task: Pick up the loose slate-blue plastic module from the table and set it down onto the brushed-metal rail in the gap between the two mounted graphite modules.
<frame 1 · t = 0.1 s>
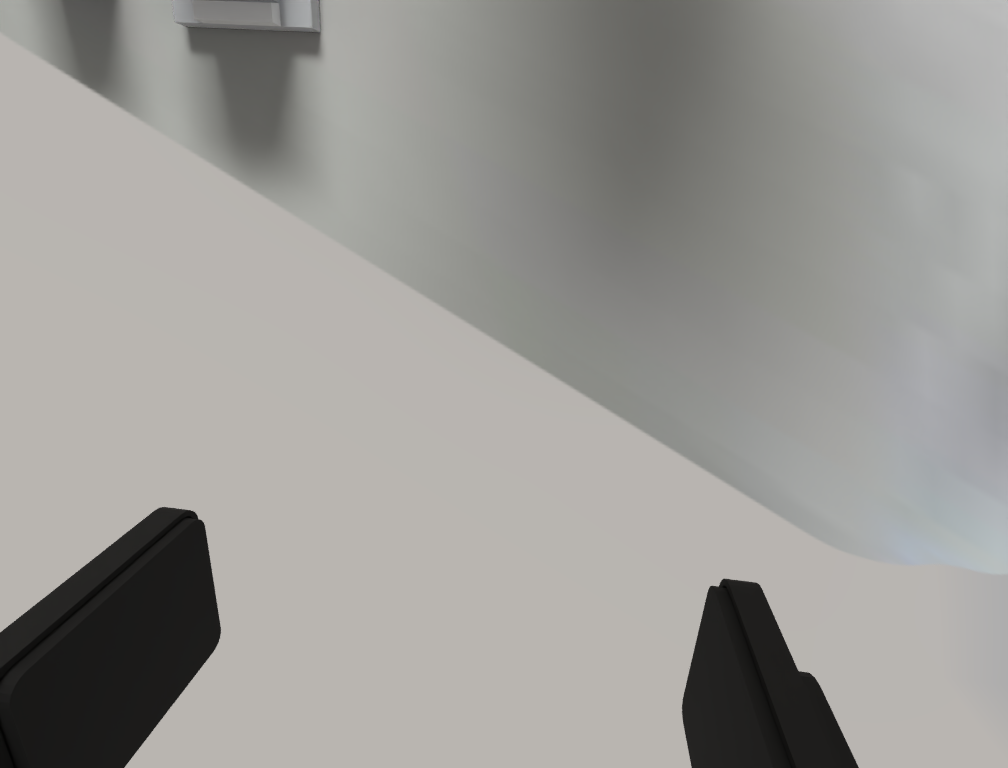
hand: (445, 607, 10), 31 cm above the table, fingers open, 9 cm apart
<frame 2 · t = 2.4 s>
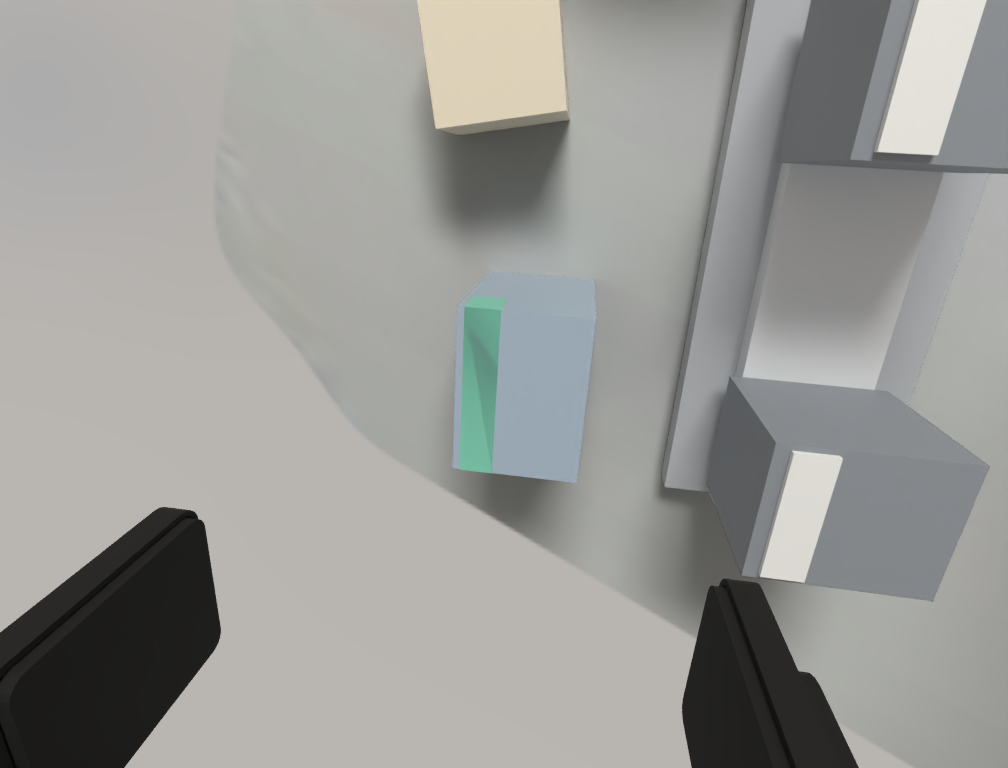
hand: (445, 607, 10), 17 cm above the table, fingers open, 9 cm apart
beige cube: (507, 65, 22), on the table
module: (536, 341, 26), on the table
rail fixture: (812, 273, 23), on the table
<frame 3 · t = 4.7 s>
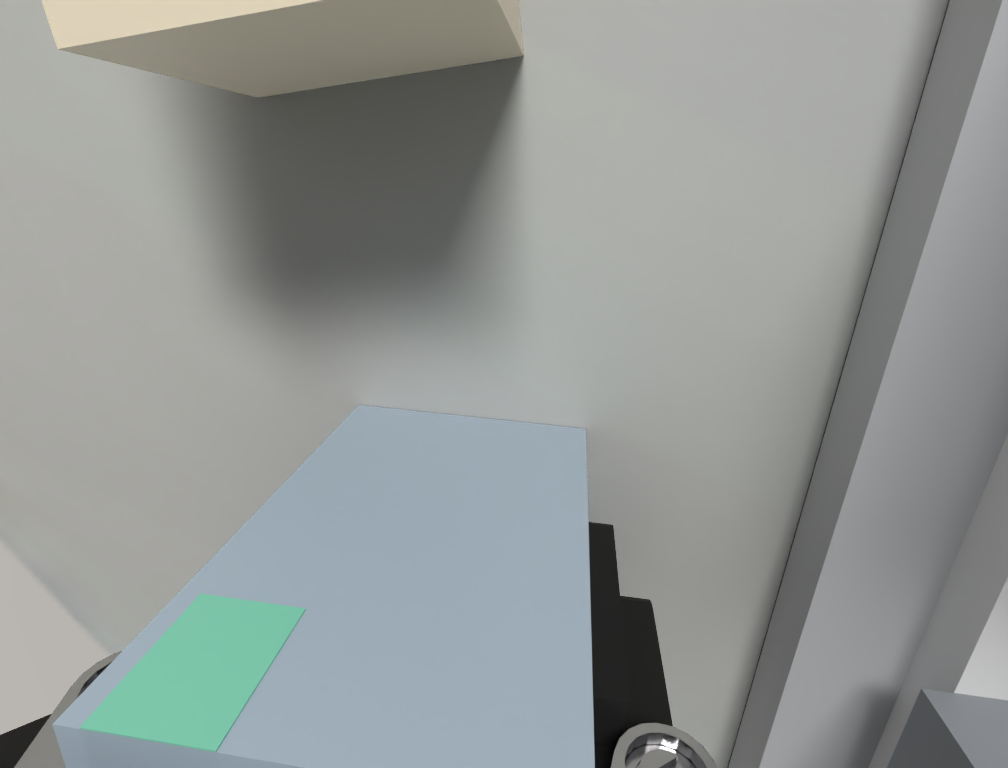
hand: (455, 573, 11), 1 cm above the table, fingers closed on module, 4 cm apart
module: (465, 544, 12), on the table, touching gripper
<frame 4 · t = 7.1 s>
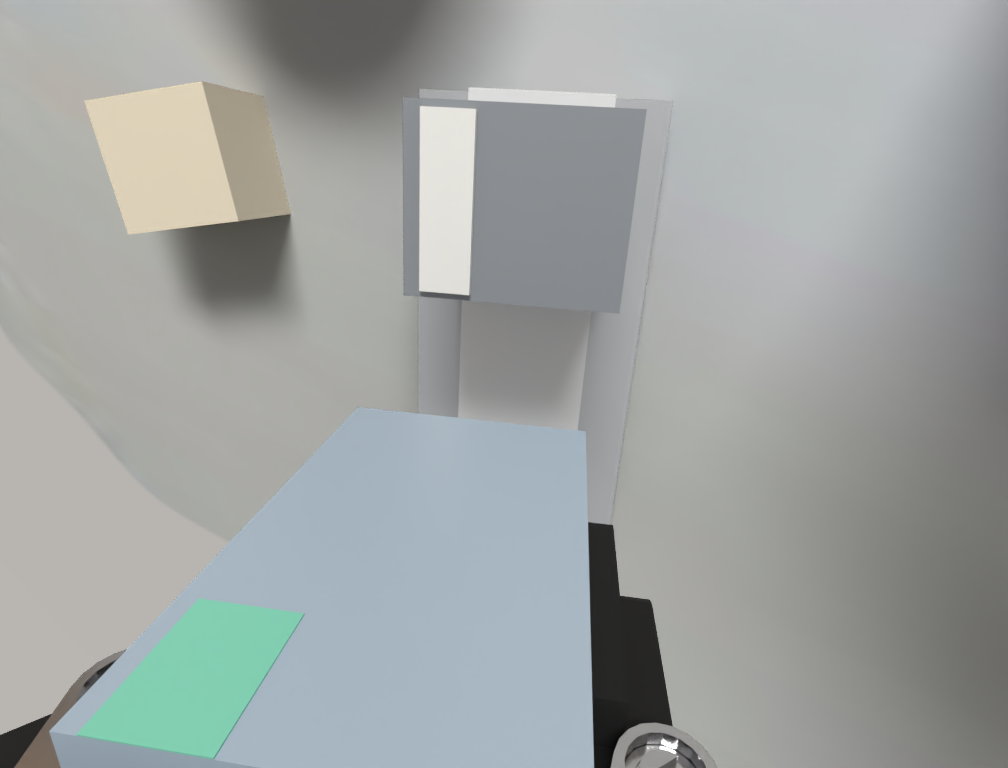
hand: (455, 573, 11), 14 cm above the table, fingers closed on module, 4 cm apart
beige cube: (229, 164, 23), on the table
module: (464, 546, 12), point 14 cm above the table, touching gripper
rail fixture: (526, 353, 25), on the table
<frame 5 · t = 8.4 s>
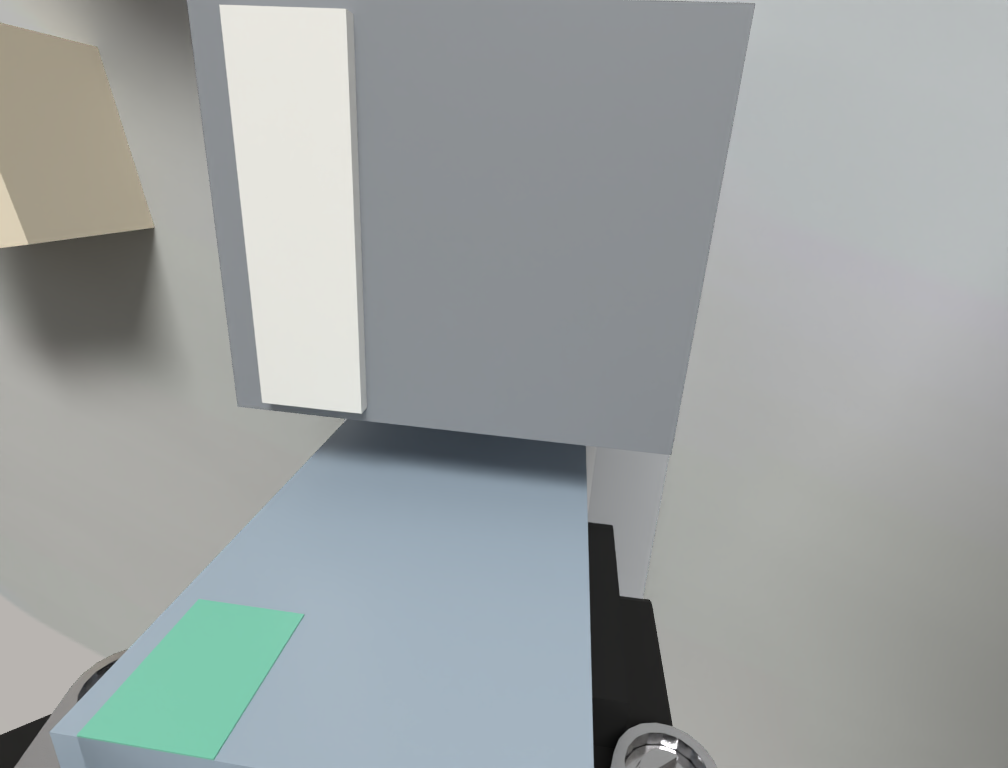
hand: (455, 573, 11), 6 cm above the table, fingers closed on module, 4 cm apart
beige cube: (59, 152, 16), on the table
module: (464, 547, 12), point 5 cm above the table, touching gripper
rail fixture: (506, 432, 17), on the table
when the fingers open (4 cm above the table, at t = 9.6 s): module drops 1 cm, resting on rail fixture.
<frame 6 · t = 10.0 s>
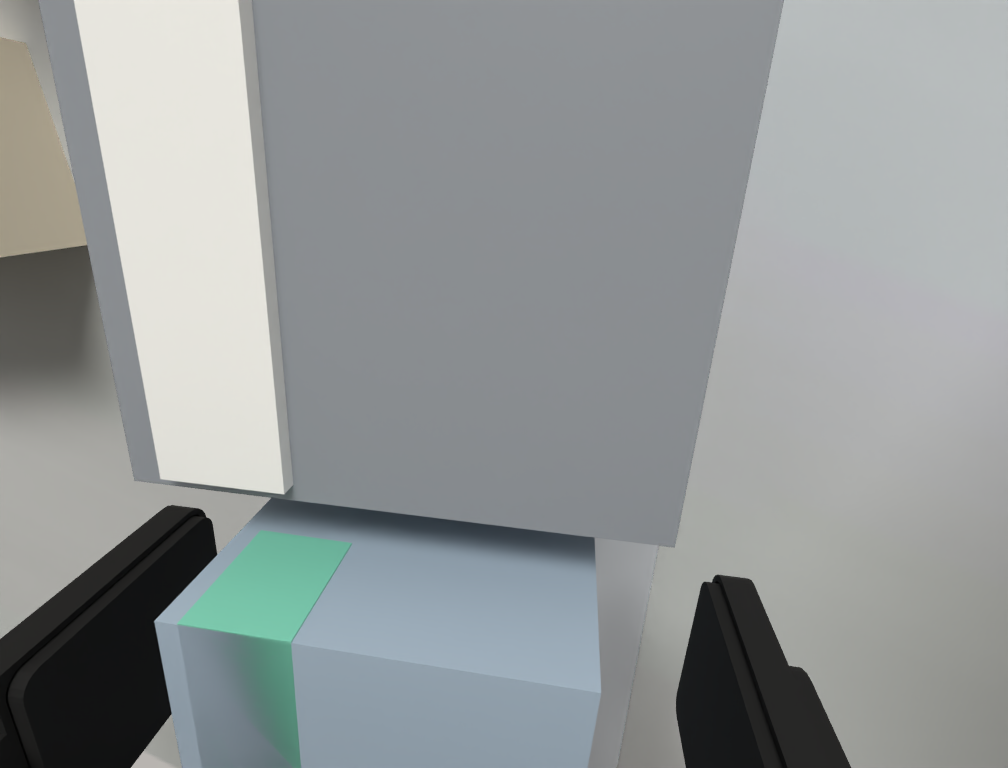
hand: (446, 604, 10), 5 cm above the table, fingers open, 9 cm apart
module: (475, 514, 13), point 2 cm above the table, touching rail fixture
rail fixture: (488, 469, 15), on the table
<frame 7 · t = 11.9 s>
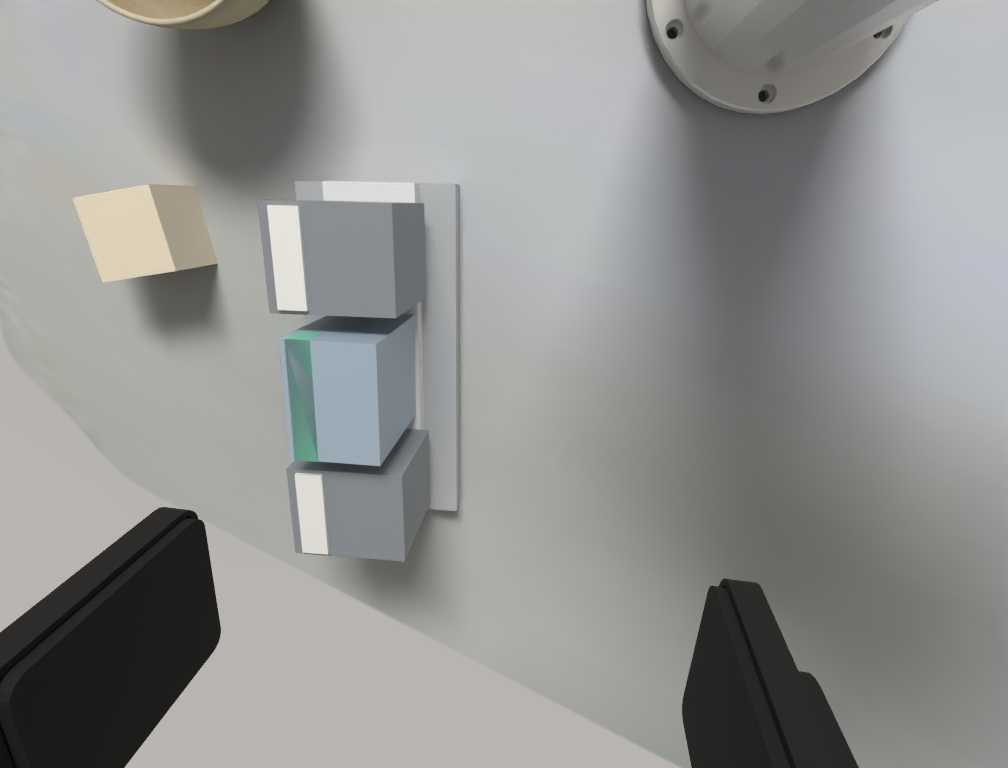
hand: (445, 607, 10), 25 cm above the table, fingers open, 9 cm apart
beige cube: (173, 231, 34), on the table
module: (377, 363, 33), point 2 cm above the table, touching rail fixture
rail fixture: (387, 354, 35), on the table
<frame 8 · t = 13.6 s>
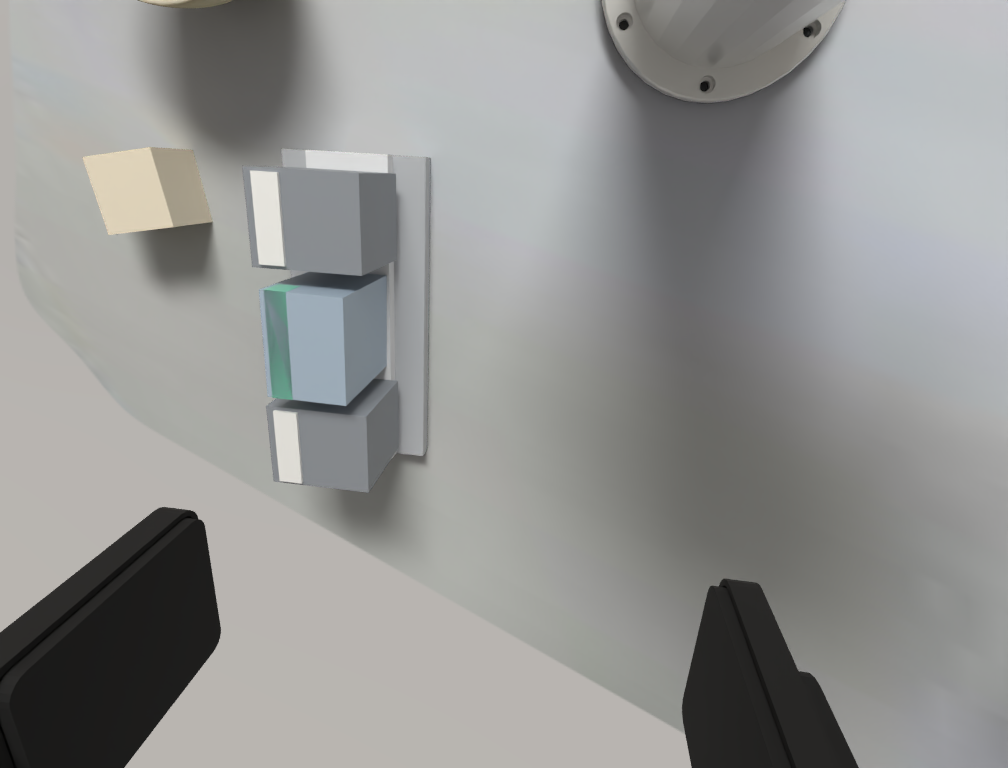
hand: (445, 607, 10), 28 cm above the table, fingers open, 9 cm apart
beige cube: (173, 190, 37), on the table
module: (352, 318, 36), point 2 cm above the table, touching rail fixture
rail fixture: (364, 311, 38), on the table
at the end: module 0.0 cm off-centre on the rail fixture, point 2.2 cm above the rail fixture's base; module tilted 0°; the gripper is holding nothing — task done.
